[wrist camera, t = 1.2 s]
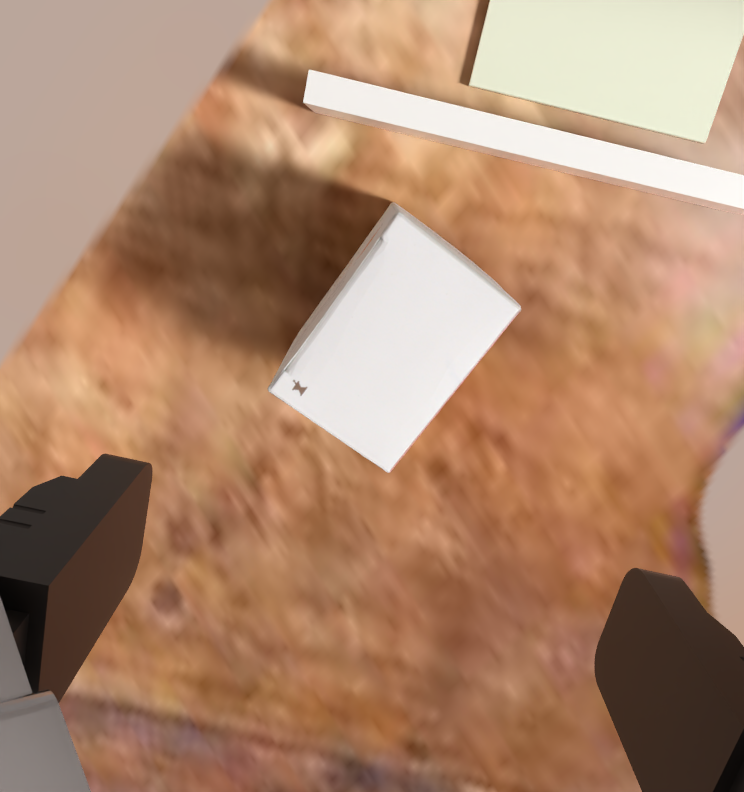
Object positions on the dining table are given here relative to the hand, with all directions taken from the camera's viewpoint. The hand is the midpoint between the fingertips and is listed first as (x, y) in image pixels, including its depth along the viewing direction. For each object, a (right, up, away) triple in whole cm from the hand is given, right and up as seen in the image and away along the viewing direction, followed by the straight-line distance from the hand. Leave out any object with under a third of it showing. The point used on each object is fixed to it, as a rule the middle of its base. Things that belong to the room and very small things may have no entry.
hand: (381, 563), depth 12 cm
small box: (+1, +8, +23) cm, 24 cm away
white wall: (+7, +14, +21) cm, 26 cm away
